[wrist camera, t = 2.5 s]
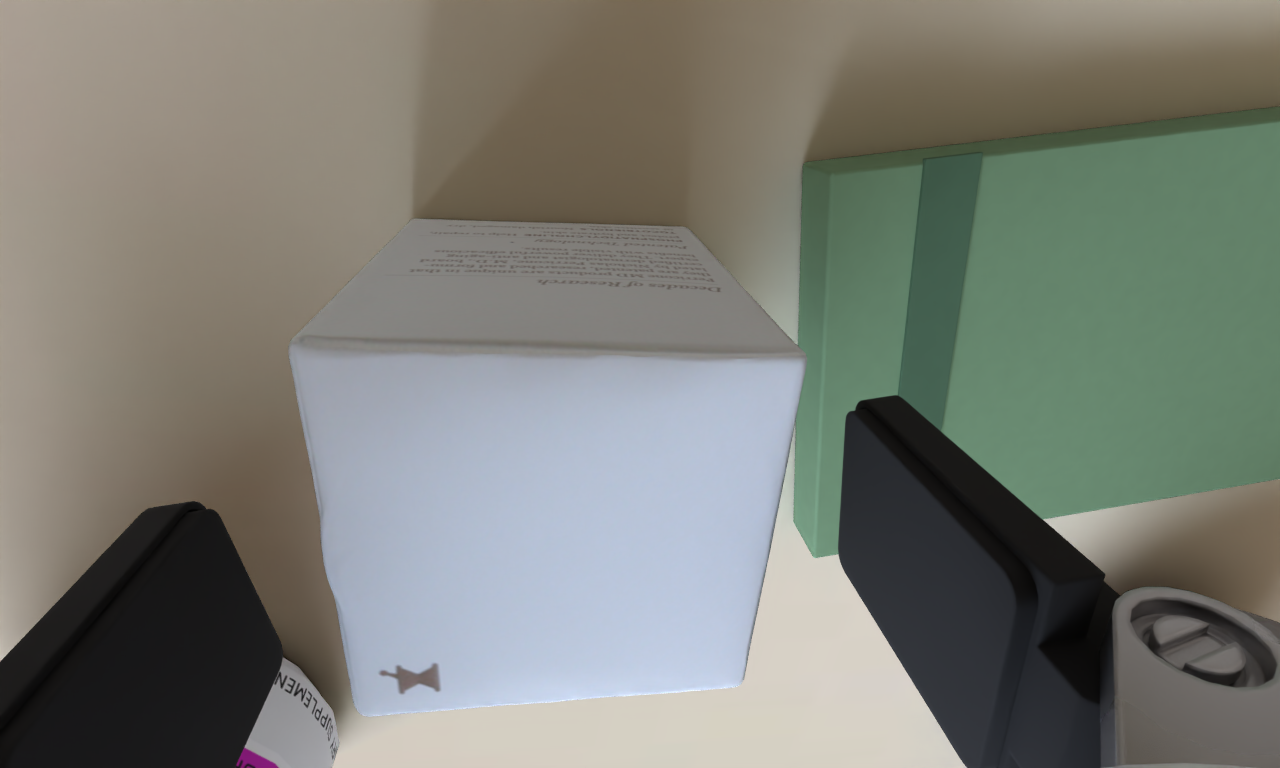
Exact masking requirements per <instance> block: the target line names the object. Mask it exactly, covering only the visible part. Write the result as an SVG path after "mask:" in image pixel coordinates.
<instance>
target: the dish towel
mask: <svg viewBox="0 0 1280 768" xmlns="http://www.w3.org/2000/svg"><path fill="white" fill-rule="evenodd" d="M798 346H799V347H800V348H801V349H802V350H803V351H804V352H805V354H806V357H807V365H806V371H805V375H804V380H803V385H802V389H801V394H800V400H799V405H798V410H797V415H796V444H795V482H794V520H793V522H794V523H795V525H796V527H797V529H798V531H799V532H800V534H801V536H802V538H803V540H804V541H805V543H806V545H807V547H808V549H809V550H810V552H811V554H812V556H813V557H814V558H819V557H824V556H830V555H836V554H839V553H838V537H839V520H840V503H841V486H842V469H843V452H844V435H845V420H846V416H847V413H848V412H850V411H855V408H856V406H857V403H858V402H859V401H861V400H866V399H873V398H879V397H886V396H893V395H898V396H900V397H902V398H903V399H904V400H905V401H906V402H908V403H909V404H910V405H911V406H912V407H913V408H915V409H916V410H917V411H918V412H919V413H920V414H921V415H923V416H924V417H925V418H926V419H927V420H928V421H930V422H931V423H932V424H933V425H934V426H935V427H936V428H938V429H939V430H940V431H941V432H942V433H943V434H945V435H946V436H947V437H948V438H949V439H950V440H951V441H953V442H954V443H955V444H956V445H957V446H958V447H959V448H961V449H962V450H963V451H964V452H965V453H966V454H968V455H969V456H970V457H971V458H972V459H973V460H974V461H976V462H977V463H978V464H979V465H980V466H981V467H983V468H984V469H985V470H986V471H987V472H988V473H989V474H991V475H992V476H993V477H994V478H995V479H996V480H998V481H999V482H1000V483H1001V484H1002V485H1003V486H1004V487H1006V488H1007V489H1008V490H1009V491H1010V492H1011V493H1012V494H1014V495H1015V496H1016V497H1017V498H1018V499H1019V500H1021V501H1022V502H1023V503H1024V504H1025V505H1026V506H1027V507H1029V508H1030V509H1031V510H1032V511H1033V512H1034V513H1036V514H1037V515H1038V516H1039V517H1040V518H1041V519H1047V518H1053V517H1059V516H1065V515H1071V514H1077V513H1083V512H1089V511H1094V510H1100V509H1106V508H1112V507H1118V506H1124V505H1130V504H1135V503H1141V502H1147V501H1153V500H1159V499H1165V498H1171V497H1177V496H1182V495H1188V494H1194V493H1200V492H1206V491H1212V490H1218V489H1224V488H1229V487H1235V486H1241V485H1247V484H1253V483H1259V482H1265V481H1270V480H1276V479H1280V106H1279V107H1271V108H1262V109H1254V110H1245V111H1237V112H1228V113H1220V114H1211V115H1203V116H1194V117H1186V118H1177V119H1169V120H1160V121H1152V122H1143V123H1135V124H1126V125H1118V126H1109V127H1101V128H1092V129H1084V130H1075V131H1067V132H1058V133H1050V134H1041V135H1033V136H1024V137H1016V138H1007V139H999V140H990V141H982V142H973V143H965V144H956V145H948V146H939V147H931V148H922V149H914V150H905V151H897V152H888V153H880V154H871V155H863V156H854V157H846V158H837V159H829V160H820V161H812V162H806V163H804V164H803V178H802V216H801V254H800V292H799V330H798Z"/></svg>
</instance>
